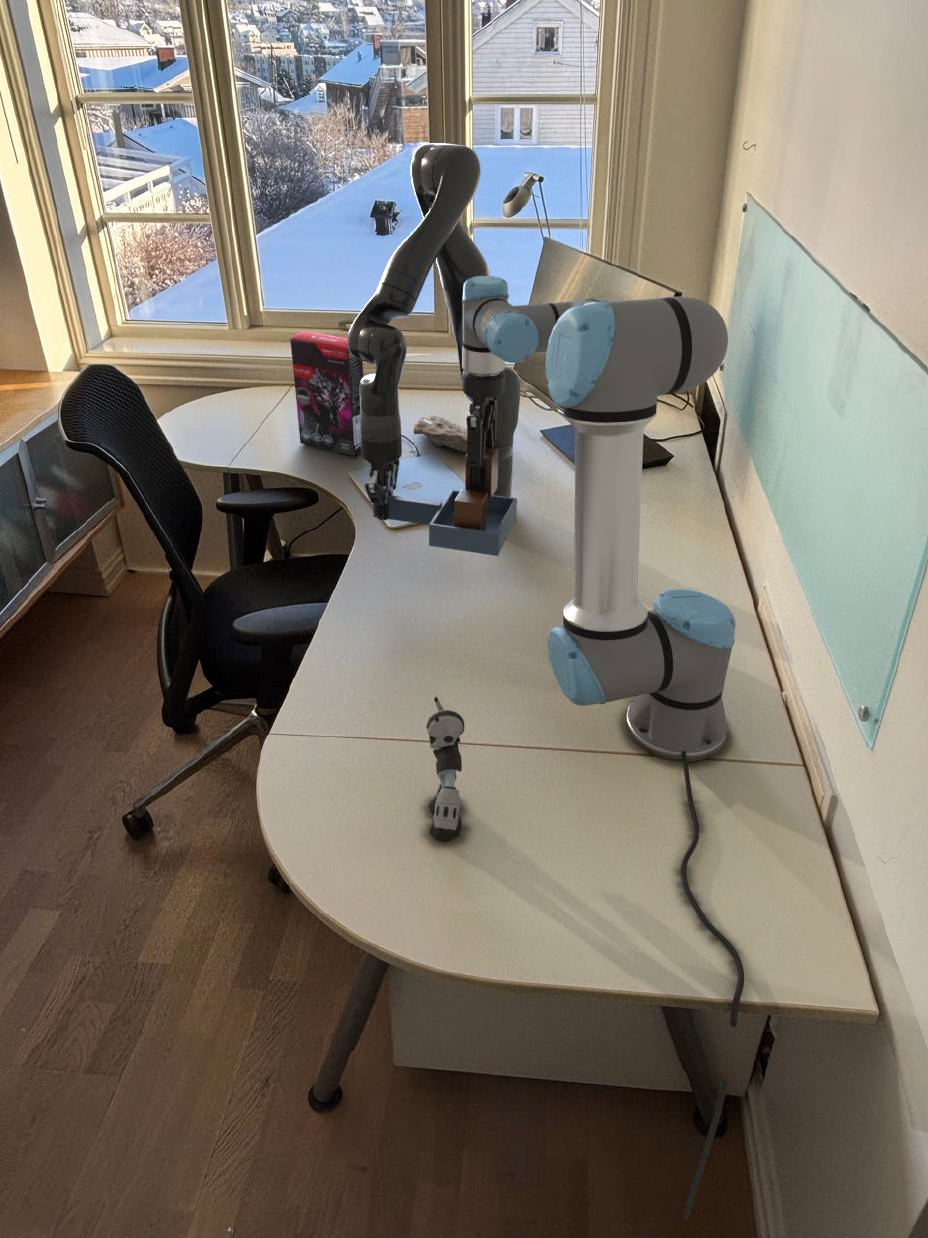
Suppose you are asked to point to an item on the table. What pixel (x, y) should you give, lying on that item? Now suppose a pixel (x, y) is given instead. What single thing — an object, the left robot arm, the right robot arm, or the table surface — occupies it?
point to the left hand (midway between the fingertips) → (384, 516)
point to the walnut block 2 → (470, 510)
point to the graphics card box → (327, 392)
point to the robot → (446, 772)
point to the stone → (442, 432)
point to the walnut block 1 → (487, 472)
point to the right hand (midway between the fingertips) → (481, 490)
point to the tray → (442, 522)
